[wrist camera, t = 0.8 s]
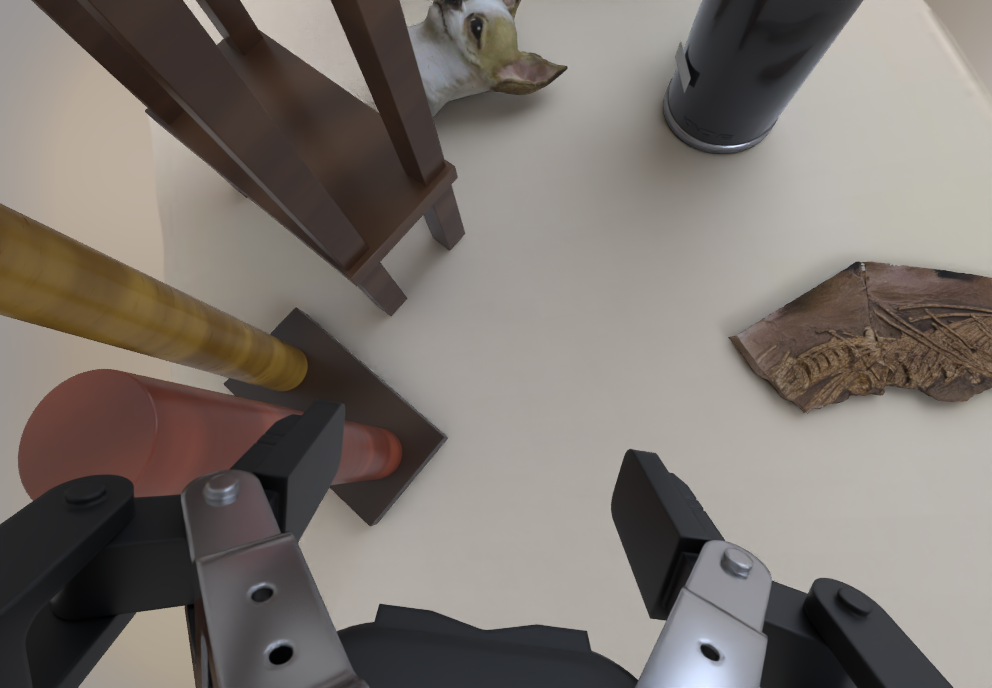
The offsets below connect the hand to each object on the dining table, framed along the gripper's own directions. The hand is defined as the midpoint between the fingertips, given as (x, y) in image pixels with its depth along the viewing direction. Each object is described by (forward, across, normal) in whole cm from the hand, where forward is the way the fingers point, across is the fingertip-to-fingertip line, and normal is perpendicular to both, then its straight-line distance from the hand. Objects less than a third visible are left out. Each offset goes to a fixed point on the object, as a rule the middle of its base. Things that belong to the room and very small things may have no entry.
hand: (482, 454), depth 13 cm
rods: (+21, +10, +11) cm, 26 cm away
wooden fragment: (+21, -31, -3) cm, 38 cm away
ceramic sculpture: (+37, +5, -17) cm, 40 cm away
